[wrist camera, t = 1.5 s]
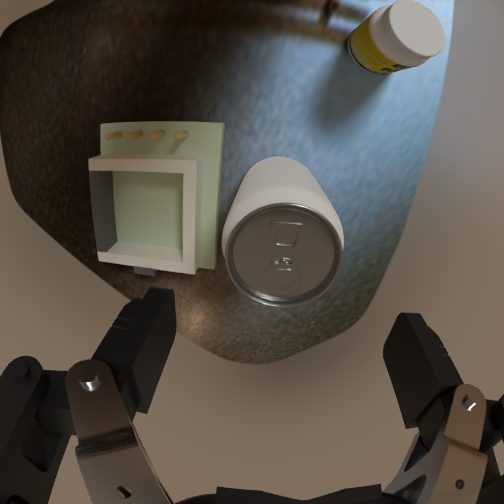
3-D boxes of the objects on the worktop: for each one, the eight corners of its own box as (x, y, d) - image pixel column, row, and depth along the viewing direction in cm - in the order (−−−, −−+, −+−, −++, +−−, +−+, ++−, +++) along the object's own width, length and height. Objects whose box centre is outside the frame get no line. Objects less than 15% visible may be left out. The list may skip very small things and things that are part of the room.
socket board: (107, 123, 22) (85, 126, 19) (225, 122, 22) (217, 124, 19) (114, 250, 28) (97, 267, 25) (216, 263, 28) (209, 283, 25)
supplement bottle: (369, 84, 19) (414, 74, 12) (335, 39, 18) (365, 7, 10) (408, 62, 18) (462, 48, 10) (377, 18, 16) (419, -14, 9)
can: (240, 225, 26) (217, 310, 15) (241, 153, 23) (214, 190, 12) (312, 230, 26) (338, 316, 15) (320, 158, 23) (362, 199, 12)
